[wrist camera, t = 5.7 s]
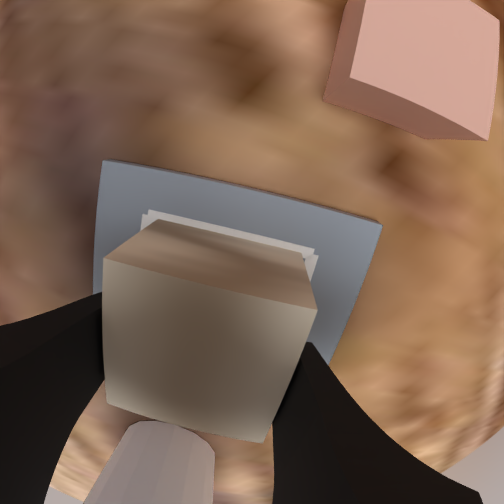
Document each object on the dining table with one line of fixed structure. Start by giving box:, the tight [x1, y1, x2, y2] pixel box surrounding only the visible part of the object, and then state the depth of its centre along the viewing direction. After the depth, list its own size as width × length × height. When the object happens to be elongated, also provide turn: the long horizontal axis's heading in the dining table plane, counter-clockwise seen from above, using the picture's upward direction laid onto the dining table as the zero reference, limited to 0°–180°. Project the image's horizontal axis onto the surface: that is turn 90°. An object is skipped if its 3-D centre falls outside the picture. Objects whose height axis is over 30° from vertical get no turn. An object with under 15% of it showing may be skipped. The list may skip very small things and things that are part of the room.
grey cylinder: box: [83, 421, 215, 504], centre depth 12 cm, size 7×7×7 cm
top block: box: [323, 0, 499, 141], centre depth 7 cm, size 4×4×4 cm
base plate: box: [93, 159, 383, 365], centre depth 12 cm, size 10×9×1 cm
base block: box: [102, 219, 318, 443], centre depth 10 cm, size 5×5×4 cm
